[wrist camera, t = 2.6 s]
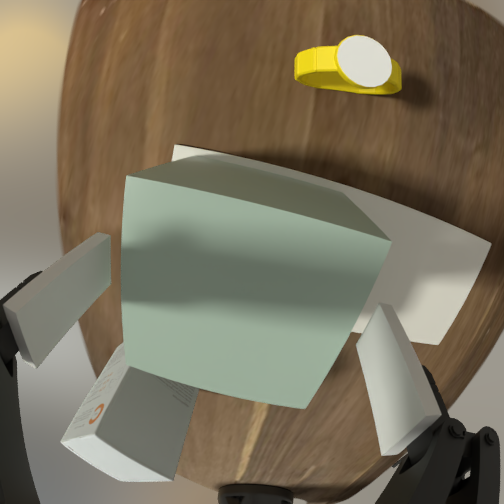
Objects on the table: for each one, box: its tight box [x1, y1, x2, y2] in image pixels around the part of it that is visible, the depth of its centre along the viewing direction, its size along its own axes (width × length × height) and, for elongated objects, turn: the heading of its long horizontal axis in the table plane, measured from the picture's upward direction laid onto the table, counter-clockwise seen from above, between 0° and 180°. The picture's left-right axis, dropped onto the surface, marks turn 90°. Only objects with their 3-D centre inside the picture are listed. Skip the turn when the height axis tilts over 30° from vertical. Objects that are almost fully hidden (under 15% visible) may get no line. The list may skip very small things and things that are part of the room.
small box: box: [61, 342, 199, 482], centre depth 19 cm, size 8×6×13 cm
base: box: [172, 144, 491, 345], centre depth 20 cm, size 11×26×1 cm, turn 77°
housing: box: [121, 156, 392, 409], centre depth 16 cm, size 10×10×9 cm
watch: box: [295, 35, 402, 95], centre depth 13 cm, size 6×3×6 cm, turn 89°
